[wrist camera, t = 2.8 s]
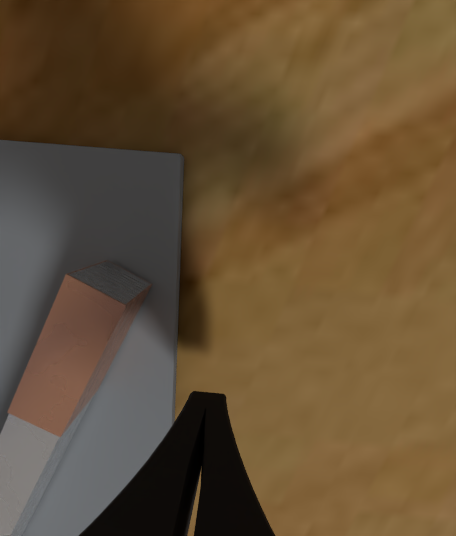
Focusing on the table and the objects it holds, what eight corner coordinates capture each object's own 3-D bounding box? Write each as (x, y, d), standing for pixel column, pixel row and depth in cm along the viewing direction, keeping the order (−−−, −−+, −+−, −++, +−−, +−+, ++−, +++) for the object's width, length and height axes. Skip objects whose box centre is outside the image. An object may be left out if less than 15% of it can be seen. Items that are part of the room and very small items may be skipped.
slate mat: (169, 568, 15) (166, 583, 14) (-66, 545, 15) (-78, 558, 15) (184, 157, 10) (180, 153, 9) (-172, 130, 10) (-197, 124, 9)
